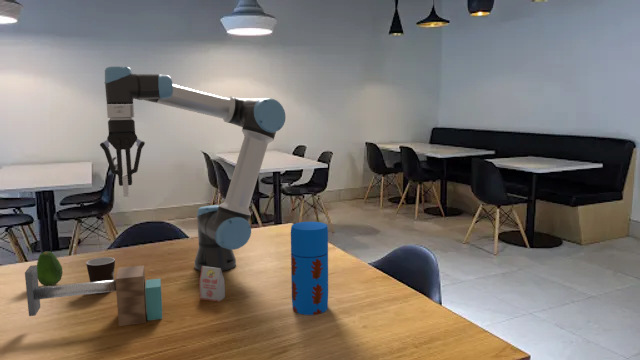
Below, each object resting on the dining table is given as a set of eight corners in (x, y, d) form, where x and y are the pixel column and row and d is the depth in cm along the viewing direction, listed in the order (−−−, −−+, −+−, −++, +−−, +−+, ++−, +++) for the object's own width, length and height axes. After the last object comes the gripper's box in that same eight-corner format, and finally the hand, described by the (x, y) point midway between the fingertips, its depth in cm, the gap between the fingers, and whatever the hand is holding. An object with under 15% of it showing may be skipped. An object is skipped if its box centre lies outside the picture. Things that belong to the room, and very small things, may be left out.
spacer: (162, 309, 151) (160, 278, 149) (162, 318, 144) (160, 286, 143) (148, 310, 150) (146, 280, 148) (147, 320, 143) (145, 288, 142)
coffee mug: (106, 296, 161) (104, 265, 160) (82, 294, 163) (80, 264, 162) (127, 283, 173) (125, 255, 171) (104, 282, 174) (102, 253, 173)
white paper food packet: (206, 294, 162) (205, 264, 161) (225, 297, 160) (223, 266, 158) (200, 298, 159) (198, 268, 157) (218, 301, 157) (217, 270, 155)
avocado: (32, 287, 170) (28, 252, 168) (54, 280, 176) (51, 246, 175) (47, 291, 166) (44, 256, 164) (69, 284, 173) (66, 249, 171)
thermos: (301, 318, 144) (300, 232, 140) (286, 304, 153) (284, 224, 150) (334, 310, 149) (334, 227, 145) (318, 298, 158) (317, 220, 155)
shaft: (132, 296, 147) (130, 256, 145) (131, 304, 142) (128, 263, 140) (34, 307, 140) (30, 265, 138) (29, 316, 134) (24, 272, 132)
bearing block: (146, 309, 151) (144, 265, 149) (145, 322, 141) (142, 276, 139) (121, 312, 149) (118, 267, 147) (118, 326, 139) (115, 278, 137)
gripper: (96, 119, 148) (102, 199, 152) (143, 118, 152) (148, 196, 155) (99, 119, 155) (105, 195, 159) (144, 118, 159) (149, 192, 162)
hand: (126, 195), depth 157 cm, fingers closed
